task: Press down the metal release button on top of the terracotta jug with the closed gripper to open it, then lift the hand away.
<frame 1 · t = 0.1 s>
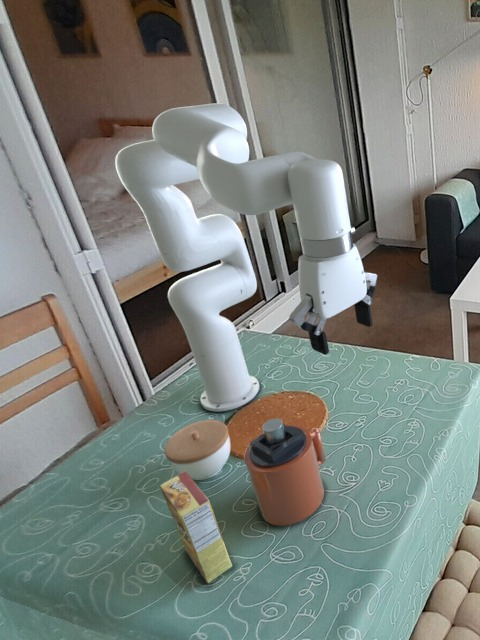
hand: (344, 337, 84), 31 cm above the table, tool pointing down, fingers open, 9 cm apart
candy box: (210, 559, 82), on the table
trinket box: (207, 468, 99), on the table
jug: (293, 499, 92), on the table
jug button: (274, 431, 85), point 17 cm above the table, slide at 0.1 cm
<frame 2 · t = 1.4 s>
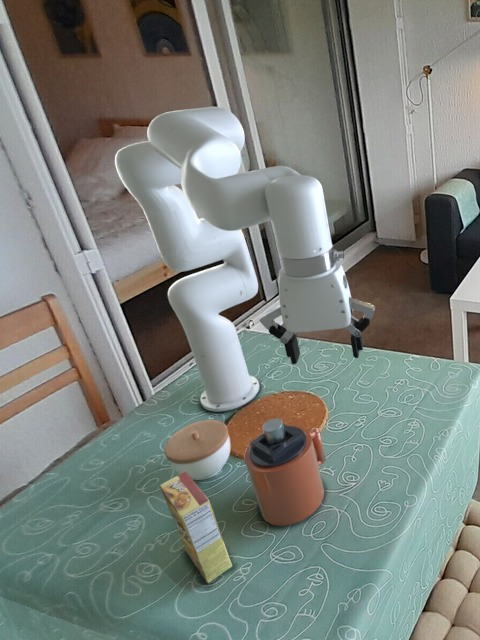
hand: (326, 356, 82), 30 cm above the table, tool pointing down, fingers open, 9 cm apart
nothing on the table moved.
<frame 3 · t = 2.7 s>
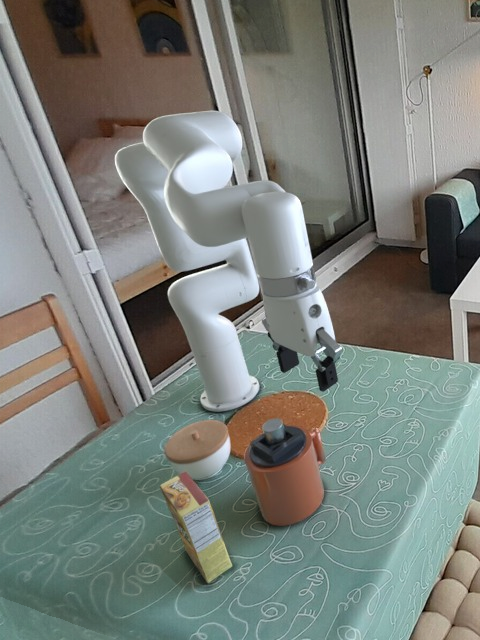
hand: (309, 376, 79), 28 cm above the table, tool pointing down, fingers open, 8 cm apart
nothing on the table moved.
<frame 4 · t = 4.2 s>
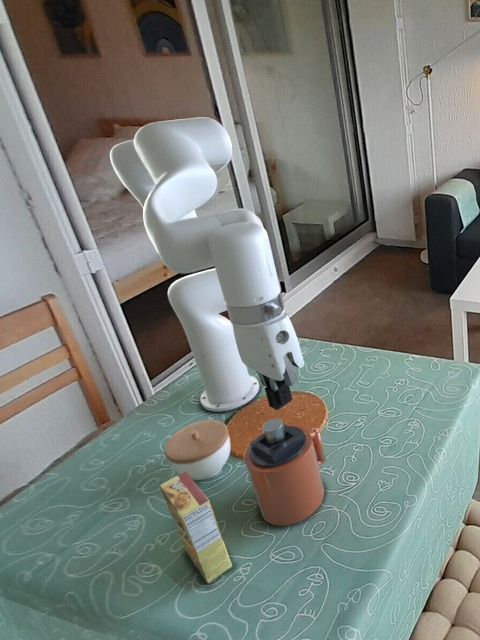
hand: (281, 403, 82), 23 cm above the table, tool pointing down, fingers closed
nothing on the table moved.
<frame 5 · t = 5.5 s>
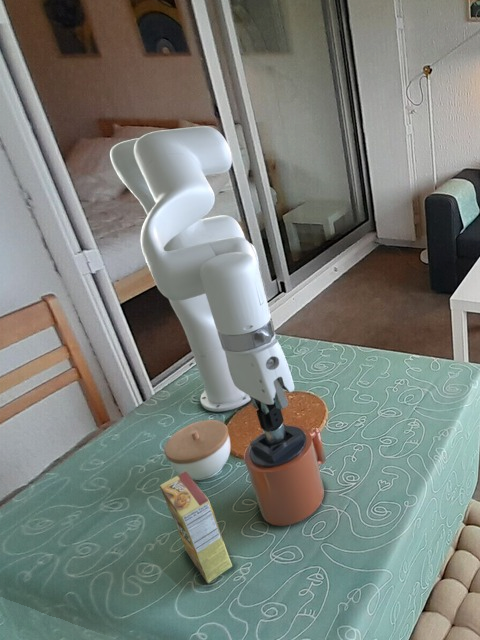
hand: (272, 425, 84), 18 cm above the table, tool pointing down, fingers closed
jug button: (274, 431, 85), point 17 cm above the table, slide at 0.0 cm, touching gripper
everything else where it was.
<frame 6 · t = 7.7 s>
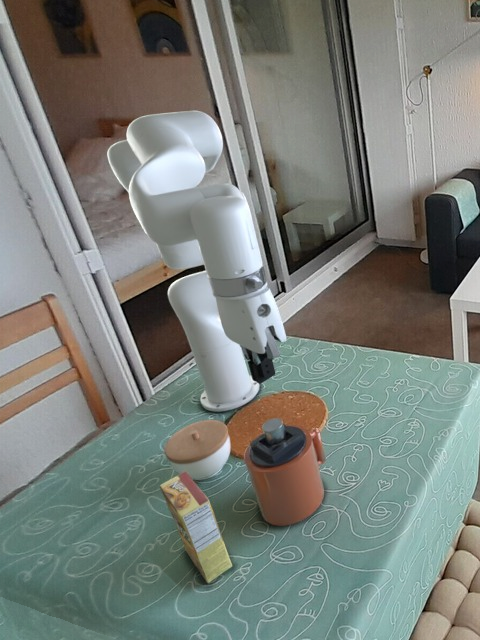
hand: (264, 377, 83), 26 cm above the table, tool pointing down, fingers closed
jug button: (274, 431, 85), point 17 cm above the table, slide at 0.1 cm
everything else where it was.
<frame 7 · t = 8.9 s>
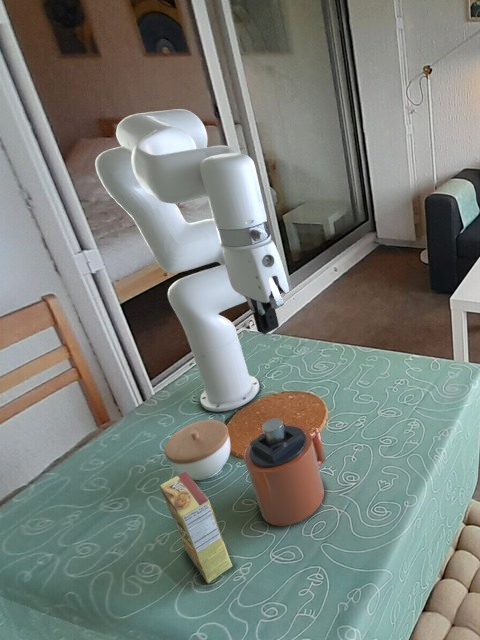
hand: (268, 329, 89), 30 cm above the table, tool pointing down, fingers closed
nothing on the table moved.
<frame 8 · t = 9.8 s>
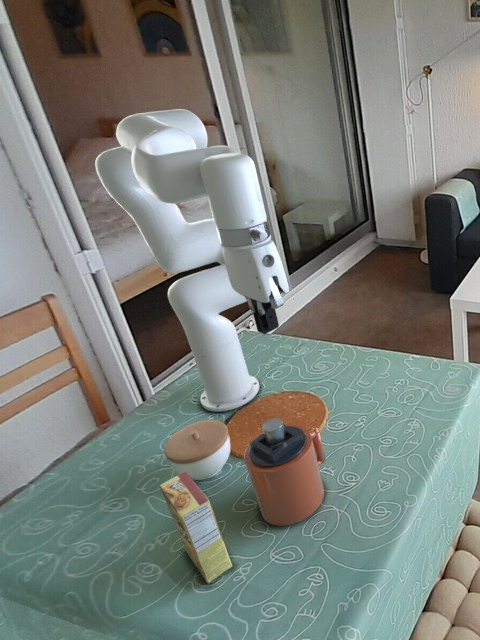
hand: (268, 329, 89), 30 cm above the table, tool pointing down, fingers closed
nothing on the table moved.
at the end: jug button pushed in 1.3 cm at the most during the clip, back to where it started at the end; jug button slide at 0.1 cm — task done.
